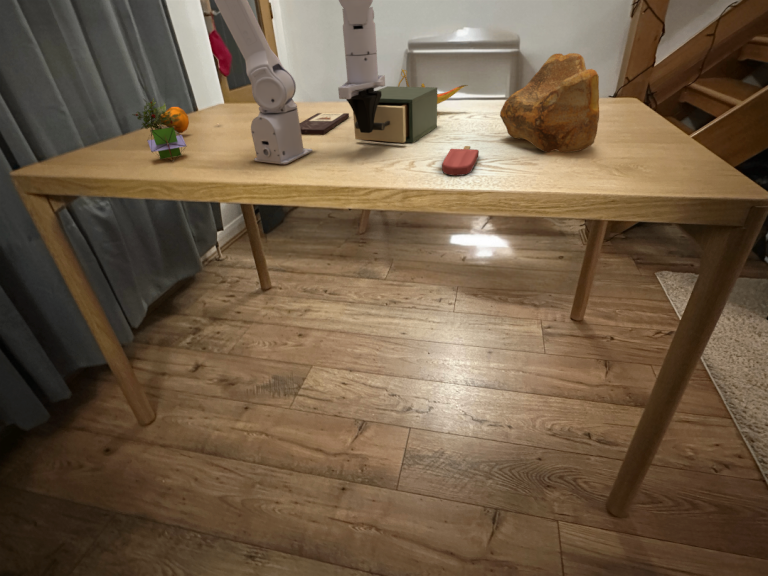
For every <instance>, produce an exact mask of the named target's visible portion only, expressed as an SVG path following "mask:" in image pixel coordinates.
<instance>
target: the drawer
mask: <svg viewBox="0 0 768 576" xmlns="http://www.w3.org/2000/svg"><path fill="white" fill-rule="evenodd" d="M380 104H386V105H388V106H383V105H380ZM352 115H353V116H352V117H353V127H354V139H355V140H362V141H377V142H387V143H388V142H389V143H403V144H404V143H405V141H406V137H408V136H409V104H408V103H382V102H379V103H378V106H377V109H376V113H375V118H374V125H373V130H372V132H370V133H361V132H360V129H359V126H358V123H357V120H356V117H355V114H354V112H353V111H352Z"/></svg>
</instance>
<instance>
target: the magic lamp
mask: <svg viewBox="0 0 768 576" xmlns="http://www.w3.org/2000/svg"><path fill="white" fill-rule="evenodd" d="M400 75H401V77H402V78H401V79H400V80H399V82H398V85H397V87H400V85H401V83H402V81H403V80H404V81H405V84H406V87H410V84H409V82H408V77H407V75H408V70H406V69H401V72H400ZM468 86H469V85H468V84H462V85H459V86H457V87H454V88H452V89H449V90H448V91H445V92H440V93H437V105H439V104H441V103H443V102H445V101H447V100H448V99H450V98H451V97H453V96H454V95H455V94H457V93H458V92H459V91H460V90H462V89H463V88H465V87H468ZM420 87H426V85H425V83H421V85H420Z"/></svg>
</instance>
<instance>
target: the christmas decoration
mask: <svg viewBox="0 0 768 576" xmlns="http://www.w3.org/2000/svg"><path fill="white" fill-rule="evenodd" d="M144 102H145V105H144V106H143V111H142V113H141V112H139V111H137V112H136V113H135V114H134V113H132V114H131V116H135V117H137V120H139V121H141V120H143V122H141V124H142V125H141V126H142V127H141V128H140V130H142V129H145V130H148V129H150V131H149V132H150V133H151V130H156V129H161V126H160V125H162V126H166V127H169V126H170V127H174V128H175V129H174V130H175V131H177V132H178V133H180V134H182V133H184V132H187V130H188V128H189V125H190V121H189V119H190V118H189V116H188V114H187V113H186V111H185V110H184V109H182V108H181V107H179V106H171V107H169V108H168V109H167V104H166V102H164V103H163V105H161V106H157V107H155V105H156V104H157V101H155V97H153V98H152V100H151V101H149V102H148V101H147V100H146V99H144ZM216 125H217V126H220V123H217V124H216ZM158 126H159V127H158Z"/></svg>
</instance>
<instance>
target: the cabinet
mask: <svg viewBox="0 0 768 576" xmlns="http://www.w3.org/2000/svg"><path fill="white" fill-rule="evenodd" d="M376 91H381V98H380V100H379V102H382V103H408V104H409V136H408V137H406V141H405V142H404V143H405V144H414V143H415V142H417V141H418V140H420V139H421V138H422V137H424V136H425V135H427V134H429V133H430V132H432V131H433V130H434V129H436V128H437V127H438V104H437V94H438V87H436V86H435V87H434V86H433V87H432V86H431V87H429V86H425V87H421V86H399V87H398V86H384V87H382V88H379V89H377V90H376Z"/></svg>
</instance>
